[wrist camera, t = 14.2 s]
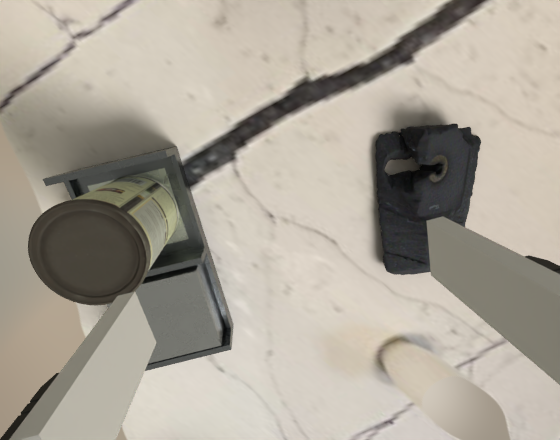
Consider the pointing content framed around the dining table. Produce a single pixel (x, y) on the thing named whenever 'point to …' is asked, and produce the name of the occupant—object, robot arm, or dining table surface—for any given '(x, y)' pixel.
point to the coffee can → (103, 239)
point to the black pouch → (423, 189)
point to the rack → (170, 264)
